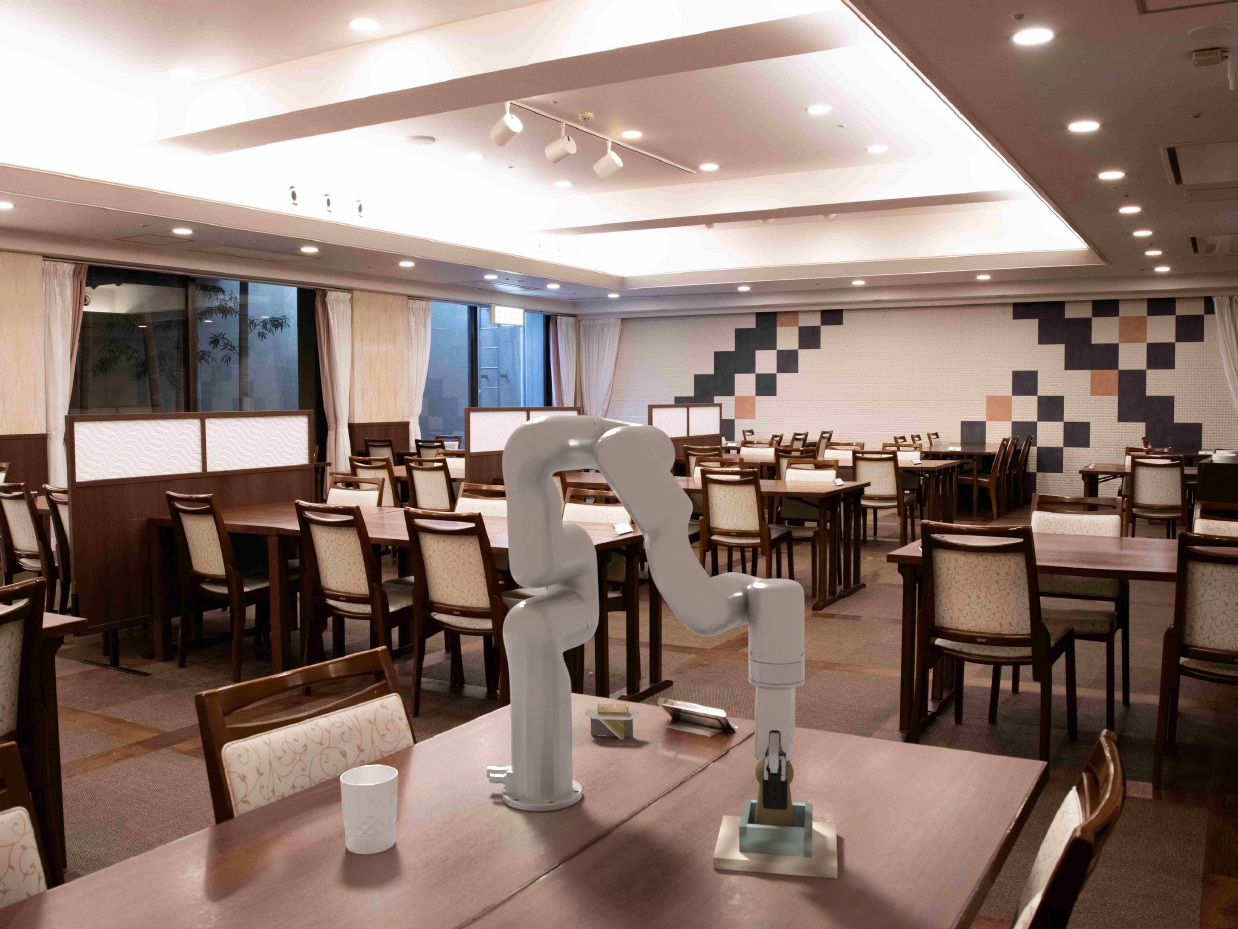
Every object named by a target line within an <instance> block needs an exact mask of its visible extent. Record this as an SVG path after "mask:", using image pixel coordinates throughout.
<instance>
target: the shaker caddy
mask: <svg viewBox="0 0 1238 929" xmlns="http://www.w3.org/2000/svg"><path fill="white" fill-rule="evenodd" d="M756 805H757V799H750V798H749V799H747V798H746V799H745V798H744V800H743V806H742V810H741V816H736V815H723V816H722V821H721V824H720V828H719V832H718V835H717V840H716V845H715V849H714V852H713V855H712V869H713V870H725V871H726V870H727V871H736V872H737V871H740V872H750V873H751V872H753V873H763V874H776V875H789V876H798V877H799V876H800V877H812V878H815V877H816V878H824V879H825V878H828V879H838V848H837V847H838V846H837V843H838V842H837V841H838V840H837V823H836V822H825V821H814V818H813V815H814V813H813V812H814V811H813V810H814V809H813V805H814V804H813V803H810V802H809V803H808V802H793V801H792V807H793V815H794V823H795V827H786V826H772V825H758V824H754V820H755V813H756Z"/></svg>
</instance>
